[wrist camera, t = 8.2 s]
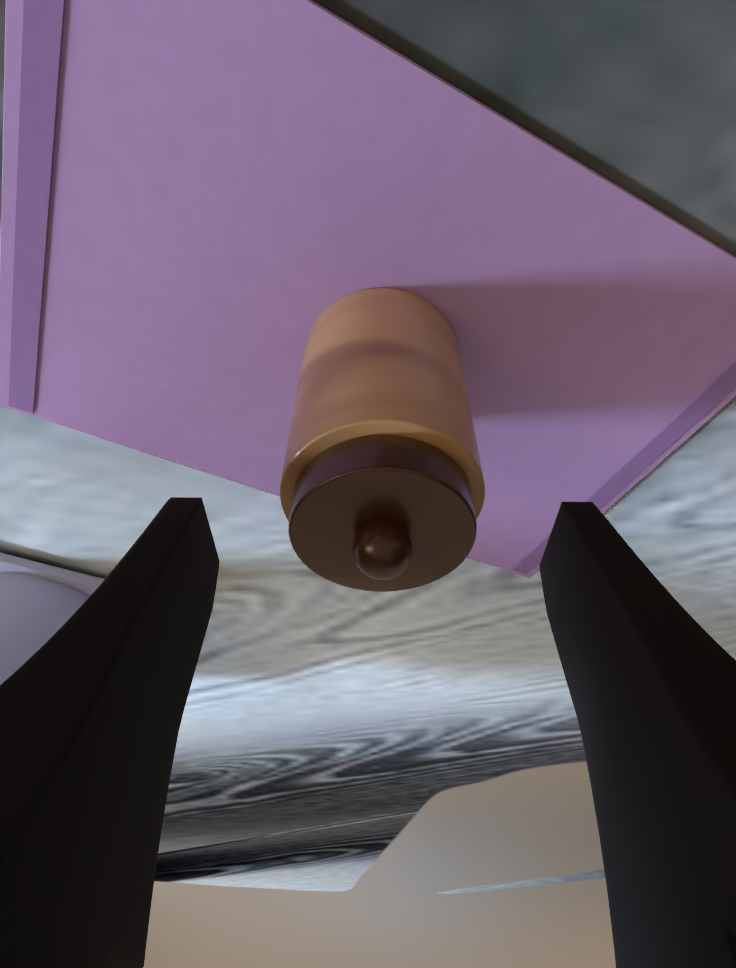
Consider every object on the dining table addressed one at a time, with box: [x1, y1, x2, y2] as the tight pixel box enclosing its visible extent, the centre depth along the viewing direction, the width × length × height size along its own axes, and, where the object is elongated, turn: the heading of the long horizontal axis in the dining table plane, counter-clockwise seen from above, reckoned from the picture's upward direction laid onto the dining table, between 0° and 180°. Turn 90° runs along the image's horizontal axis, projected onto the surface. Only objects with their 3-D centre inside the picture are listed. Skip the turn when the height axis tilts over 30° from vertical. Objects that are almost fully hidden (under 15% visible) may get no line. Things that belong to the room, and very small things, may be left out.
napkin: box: [0, 0, 736, 578], centre depth 16 cm, size 13×20×1 cm, turn 65°
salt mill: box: [280, 288, 485, 591], centre depth 13 cm, size 4×4×8 cm
